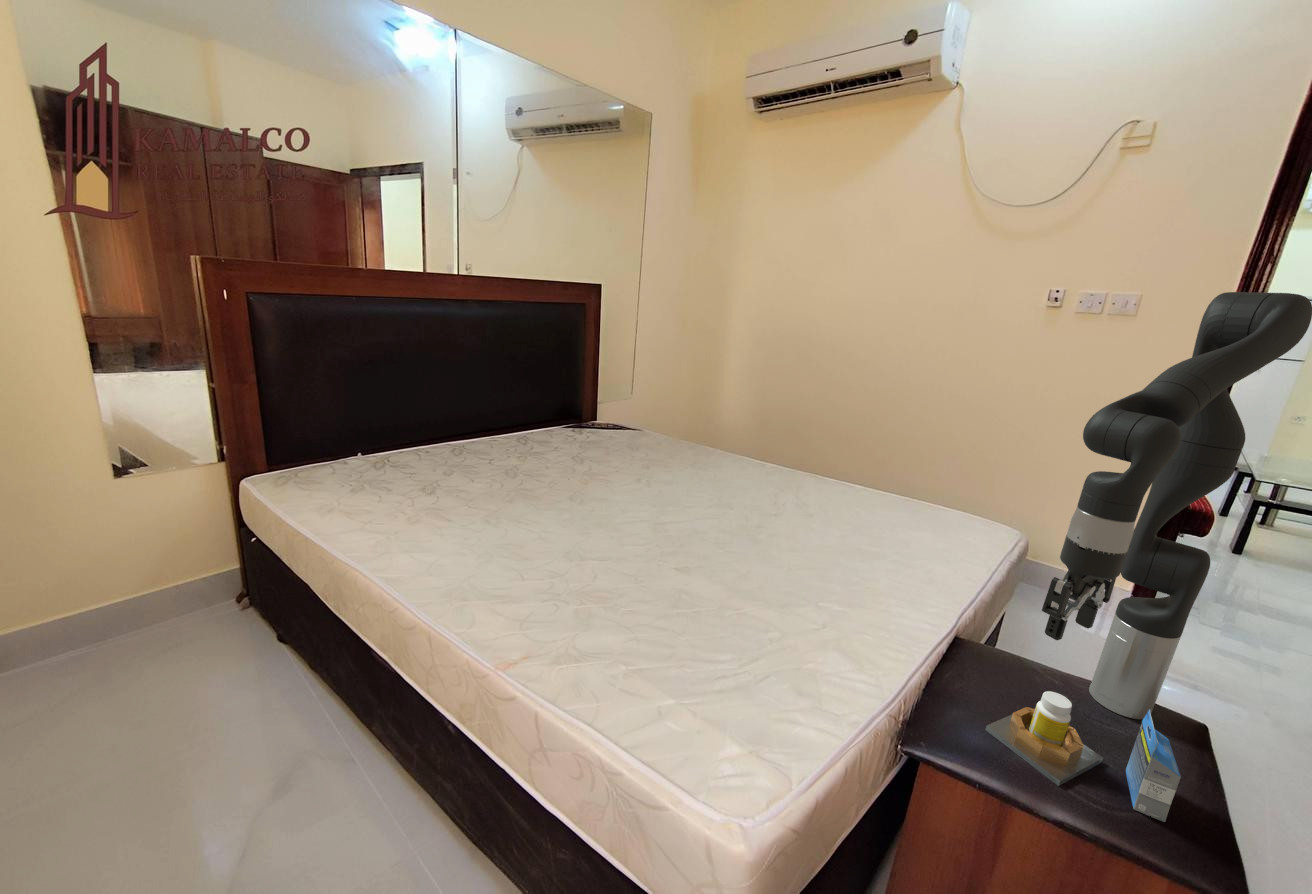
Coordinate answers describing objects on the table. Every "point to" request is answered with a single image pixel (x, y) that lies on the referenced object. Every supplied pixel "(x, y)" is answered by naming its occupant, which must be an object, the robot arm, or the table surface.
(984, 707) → the table surface
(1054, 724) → the supplement bottle
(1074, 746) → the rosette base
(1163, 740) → the label tape box
